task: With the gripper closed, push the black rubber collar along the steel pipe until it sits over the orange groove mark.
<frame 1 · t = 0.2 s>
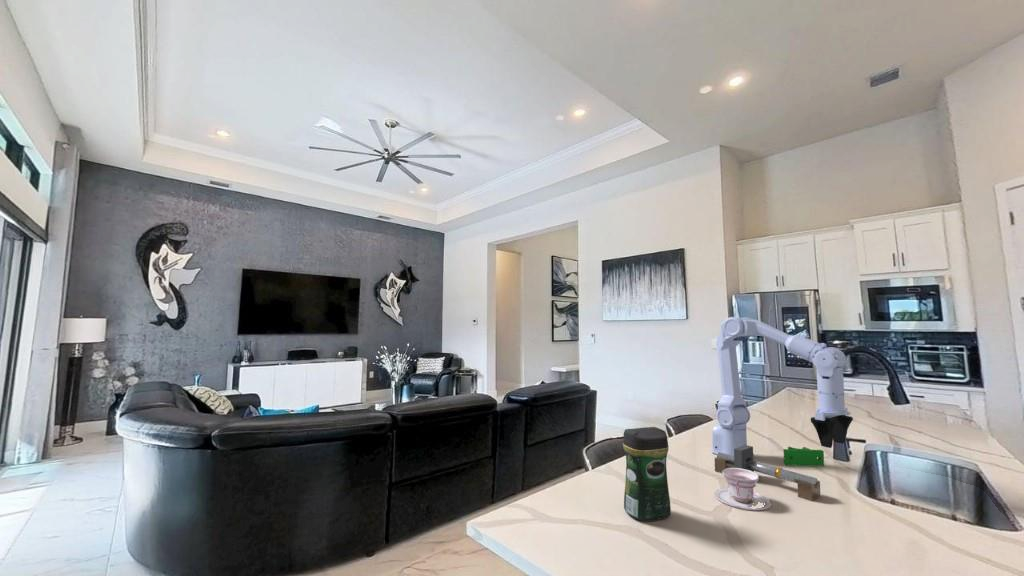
hand: (832, 444, 112), 10 cm above the countertop, tool pointing down, fingers open, 7 cm apart
collar: (743, 461, 116), point 4 cm above the countertop, slide at 0.0 cm
coffee jar: (646, 514, 93), on the countertop
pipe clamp: (801, 464, 127), on the countertop
teacup: (741, 501, 101), on the countertop
pipe rig: (763, 482, 111), on the countertop
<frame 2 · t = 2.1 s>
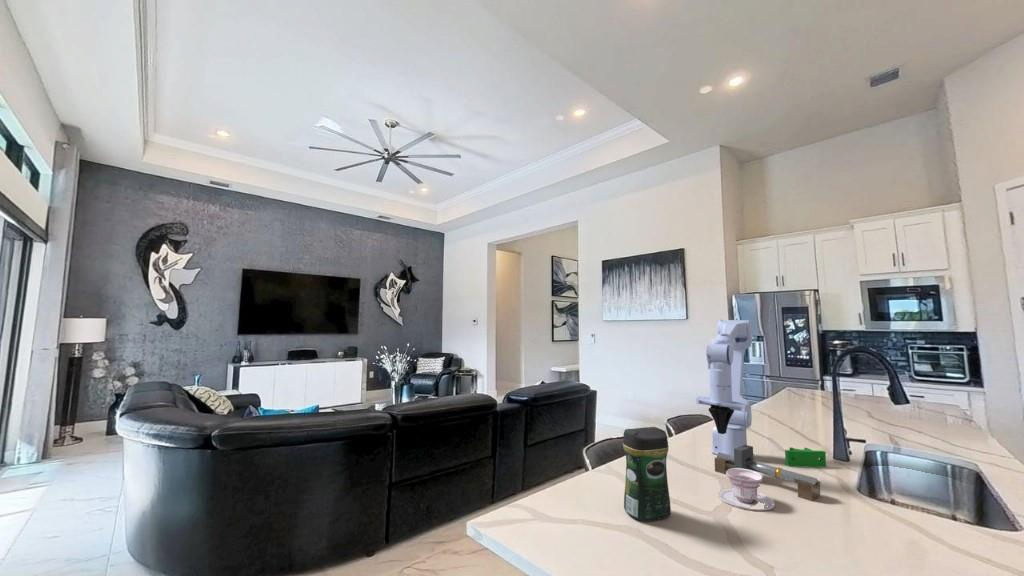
hand: (721, 433, 121), 10 cm above the countertop, tool pointing down, fingers closed
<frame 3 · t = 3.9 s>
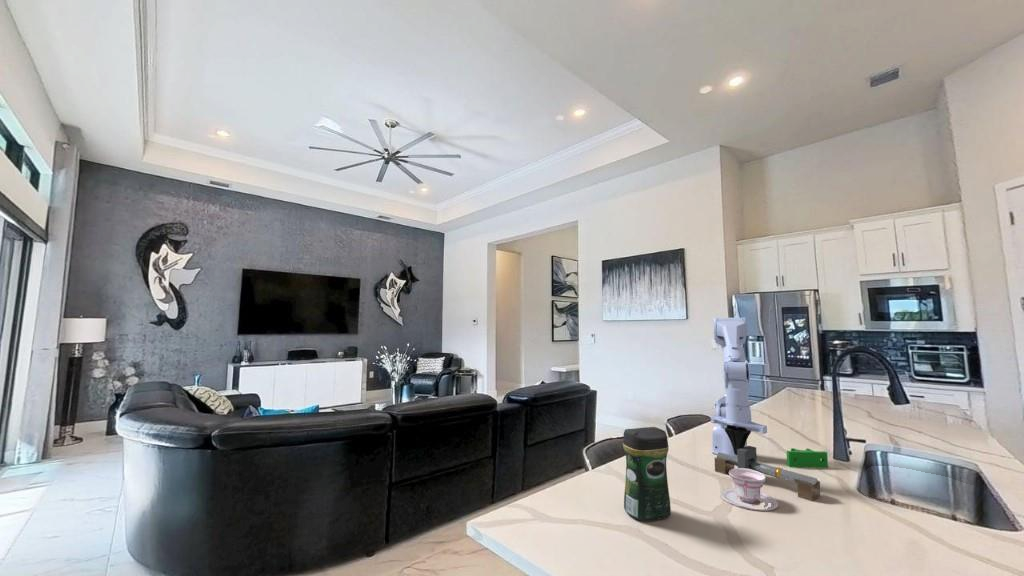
hand: (738, 454, 117), 6 cm above the countertop, tool pointing down, fingers closed
collar: (747, 462, 115), point 4 cm above the countertop, slide at 0.9 cm, touching gripper
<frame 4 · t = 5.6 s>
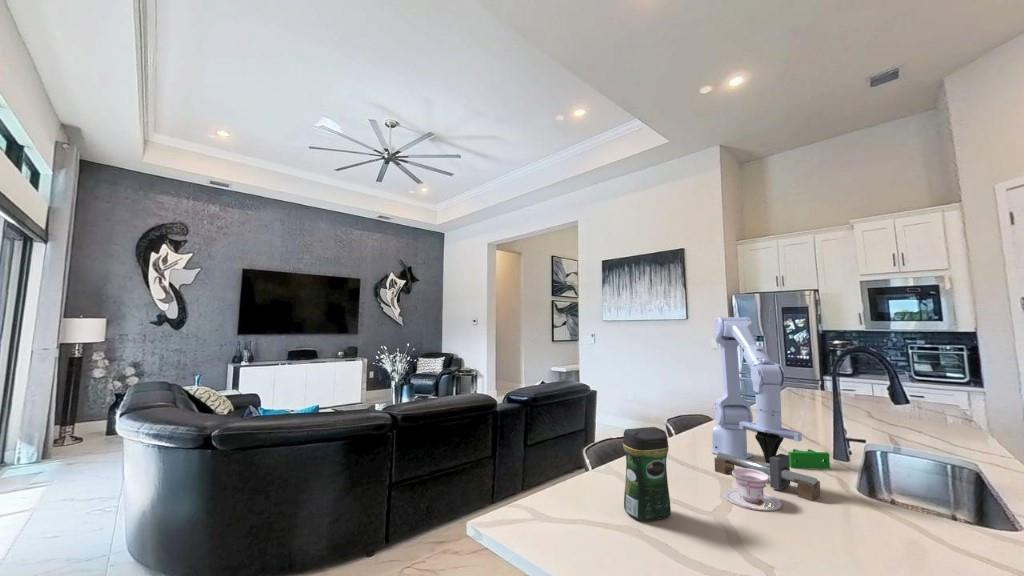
hand: (770, 462, 110), 6 cm above the countertop, tool pointing down, fingers closed
collar: (779, 471, 108), point 4 cm above the countertop, slide at 9.1 cm, touching gripper
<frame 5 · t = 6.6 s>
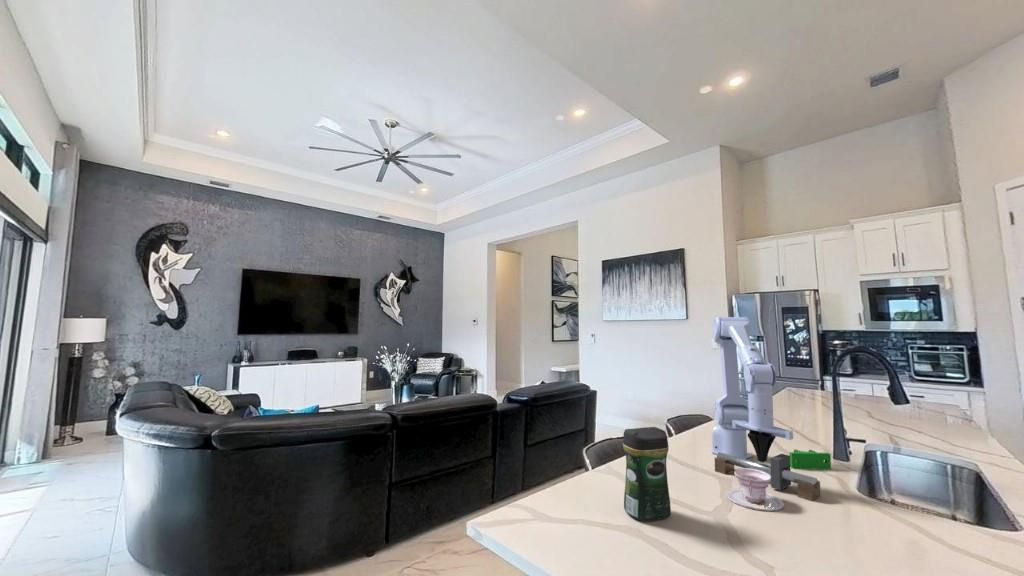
hand: (762, 460, 112), 6 cm above the countertop, tool pointing down, fingers closed
collar: (780, 471, 108), point 4 cm above the countertop, slide at 9.3 cm
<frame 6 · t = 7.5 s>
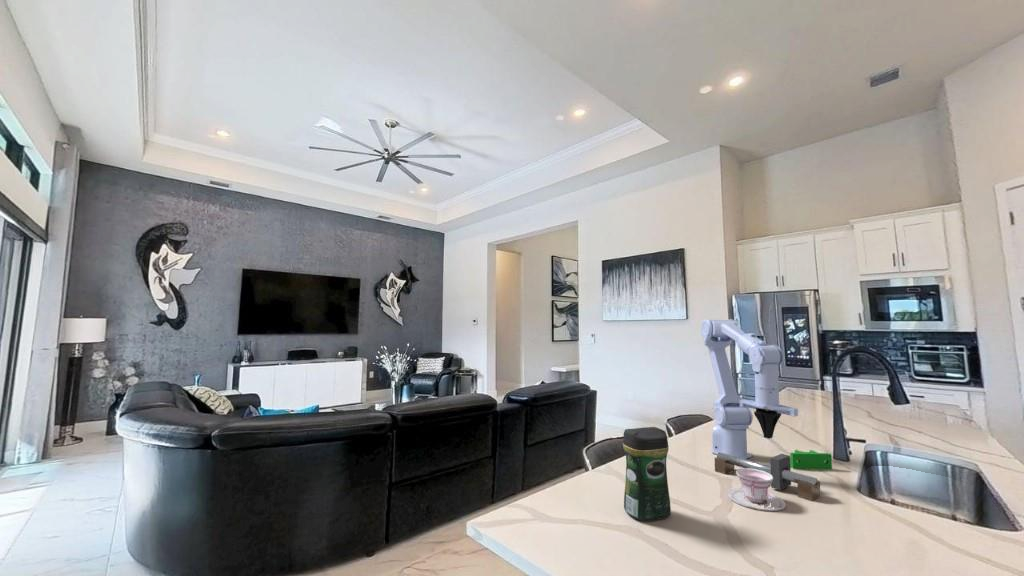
hand: (768, 437, 117), 10 cm above the countertop, tool pointing down, fingers closed
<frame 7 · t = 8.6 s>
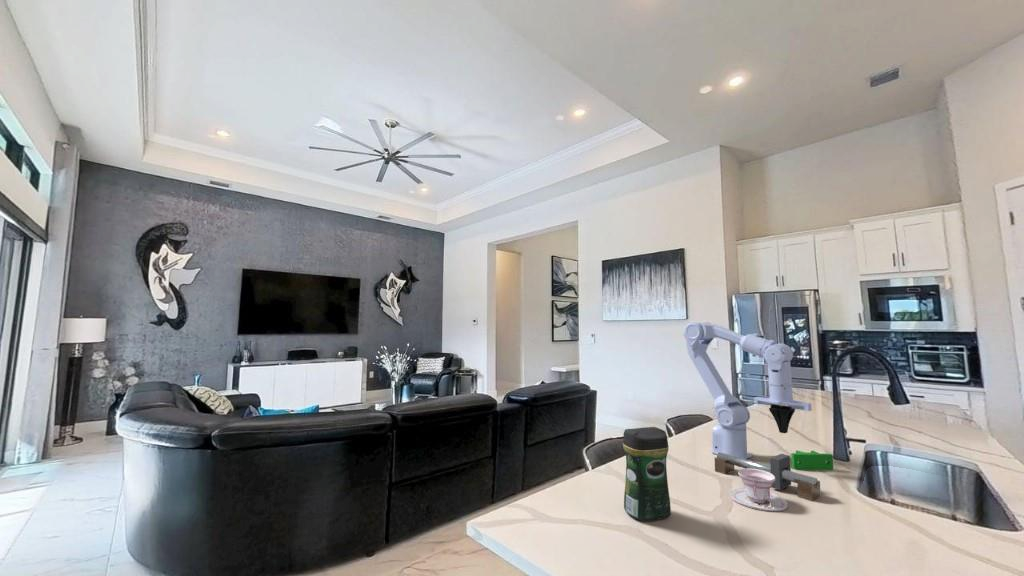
hand: (783, 432, 123), 10 cm above the countertop, tool pointing down, fingers closed
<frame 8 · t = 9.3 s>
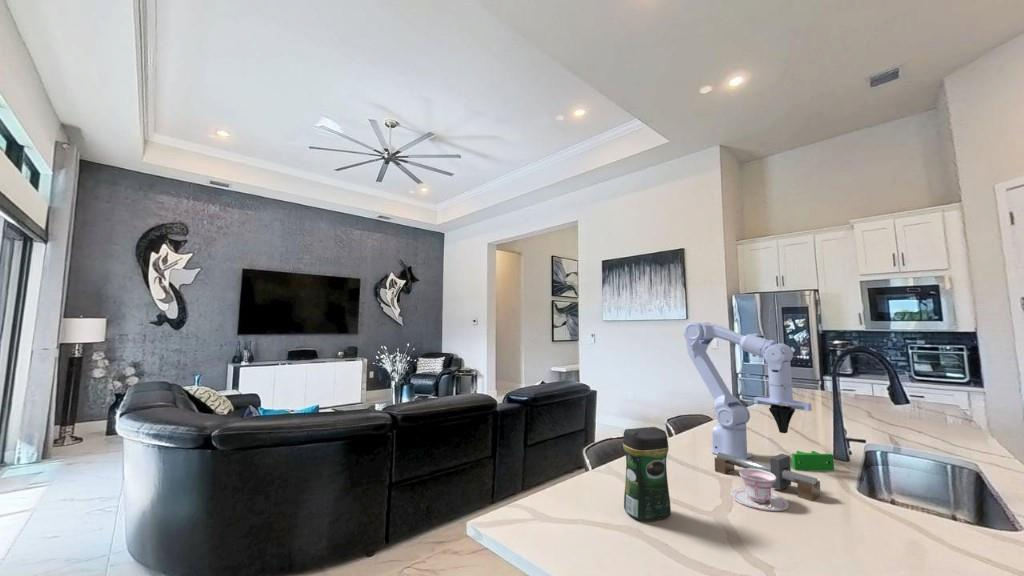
hand: (783, 432, 123), 10 cm above the countertop, tool pointing down, fingers closed
at the end: collar slide at 9.3 cm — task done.
